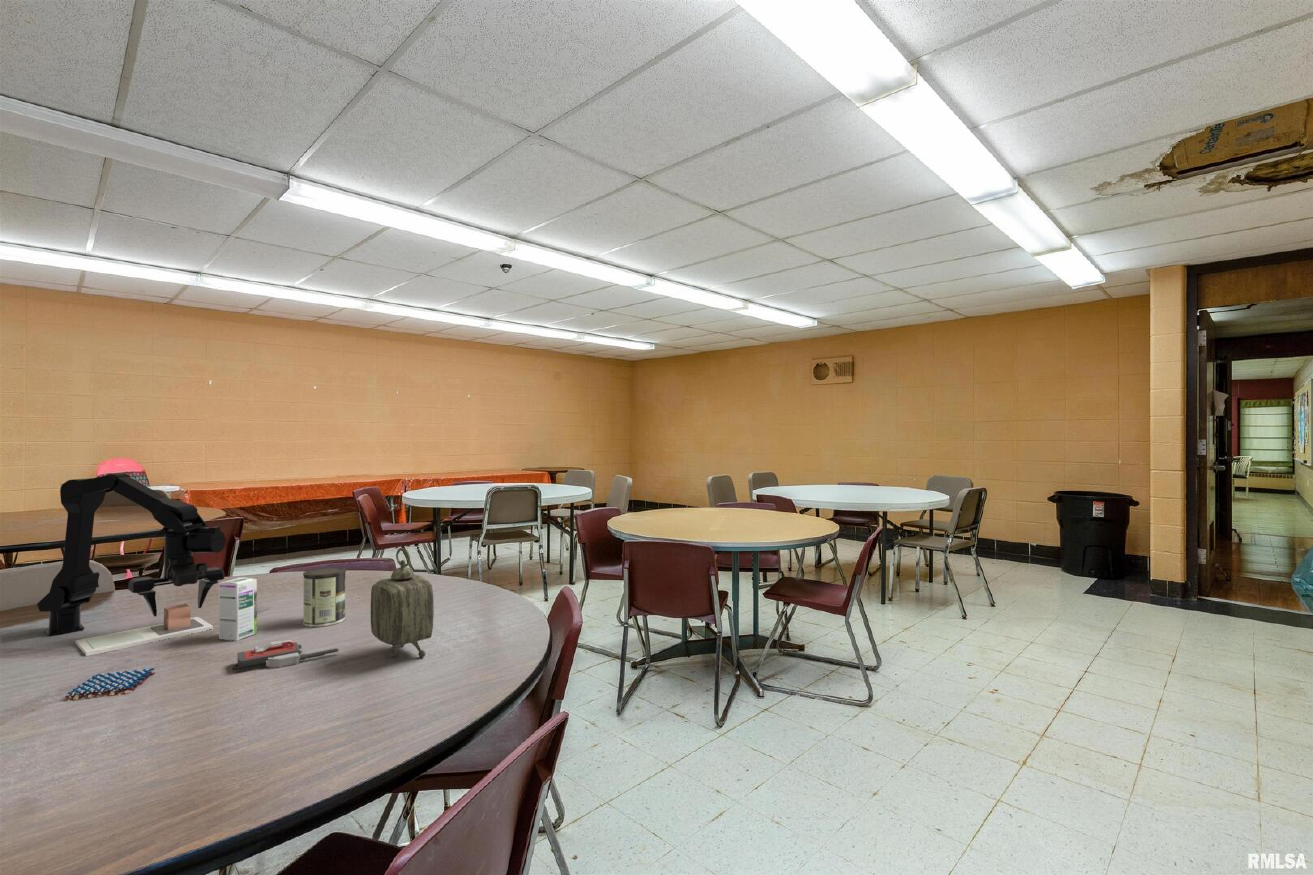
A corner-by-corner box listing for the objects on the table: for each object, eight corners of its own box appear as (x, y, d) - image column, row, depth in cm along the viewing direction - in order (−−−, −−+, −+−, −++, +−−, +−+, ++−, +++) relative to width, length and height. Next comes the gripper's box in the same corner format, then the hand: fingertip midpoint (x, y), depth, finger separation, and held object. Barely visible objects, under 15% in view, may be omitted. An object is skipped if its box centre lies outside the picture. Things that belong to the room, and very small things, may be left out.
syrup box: (237, 641, 142) (237, 583, 142) (217, 639, 143) (218, 581, 143) (257, 633, 148) (258, 577, 148) (238, 632, 149) (239, 576, 149)
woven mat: (93, 682, 119) (93, 672, 119) (156, 675, 122) (156, 666, 122) (61, 704, 109) (61, 693, 109) (131, 696, 112) (131, 686, 112)
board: (75, 643, 139) (75, 639, 139) (197, 619, 158) (197, 616, 158) (86, 656, 131) (86, 651, 131) (213, 629, 151) (213, 625, 151)
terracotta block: (163, 626, 149) (164, 607, 149) (185, 622, 153) (185, 603, 153) (168, 630, 147) (168, 610, 147) (190, 625, 150) (190, 606, 150)
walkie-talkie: (232, 678, 121) (339, 657, 133) (232, 657, 121) (339, 638, 133) (230, 665, 127) (332, 646, 140) (231, 646, 128) (332, 628, 140)
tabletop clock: (433, 657, 132) (434, 550, 133) (393, 668, 126) (394, 555, 126) (406, 642, 142) (407, 542, 142) (368, 651, 136) (369, 546, 136)
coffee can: (333, 613, 165) (333, 564, 165) (352, 619, 160) (353, 569, 160) (295, 622, 157) (295, 571, 157) (314, 629, 151) (315, 576, 151)
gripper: (139, 562, 138) (138, 627, 138) (231, 551, 153) (230, 609, 152) (128, 556, 144) (127, 618, 144) (217, 546, 159) (217, 602, 159)
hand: (177, 612), depth 150 cm, fingers open, 9 cm apart
